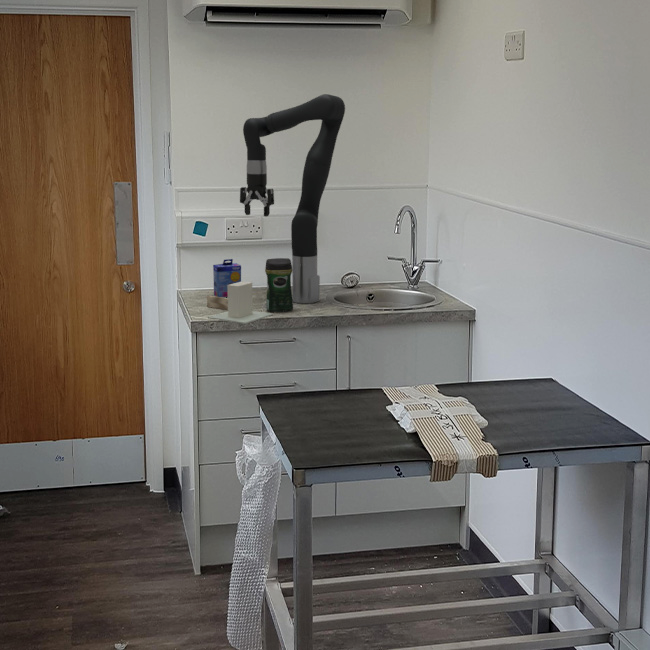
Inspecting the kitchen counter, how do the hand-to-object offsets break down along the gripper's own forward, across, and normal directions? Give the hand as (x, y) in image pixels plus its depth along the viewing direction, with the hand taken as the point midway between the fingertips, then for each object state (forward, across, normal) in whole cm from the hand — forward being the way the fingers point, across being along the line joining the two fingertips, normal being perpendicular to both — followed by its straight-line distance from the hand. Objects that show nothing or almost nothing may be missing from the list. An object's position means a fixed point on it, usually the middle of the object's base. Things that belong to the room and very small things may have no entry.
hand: (257, 215), depth 359 cm
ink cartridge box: (+30, +6, +10) cm, 33 cm away
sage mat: (+30, -19, +37) cm, 51 cm away
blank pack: (+30, -19, +37) cm, 51 cm away
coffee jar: (+30, -24, +21) cm, 44 cm away
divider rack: (+30, -4, +24) cm, 38 cm away
